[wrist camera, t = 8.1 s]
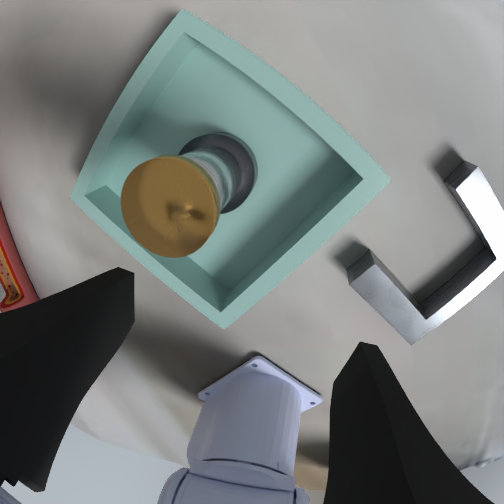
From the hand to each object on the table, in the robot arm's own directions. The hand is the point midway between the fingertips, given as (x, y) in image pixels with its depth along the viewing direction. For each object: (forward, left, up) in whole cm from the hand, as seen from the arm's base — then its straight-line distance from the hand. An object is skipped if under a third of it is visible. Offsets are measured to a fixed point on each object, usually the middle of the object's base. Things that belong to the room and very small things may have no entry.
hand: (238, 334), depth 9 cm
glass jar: (0, +4, -10) cm, 11 cm away
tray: (0, +4, -10) cm, 11 cm away
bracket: (+6, -9, -10) cm, 15 cm away
